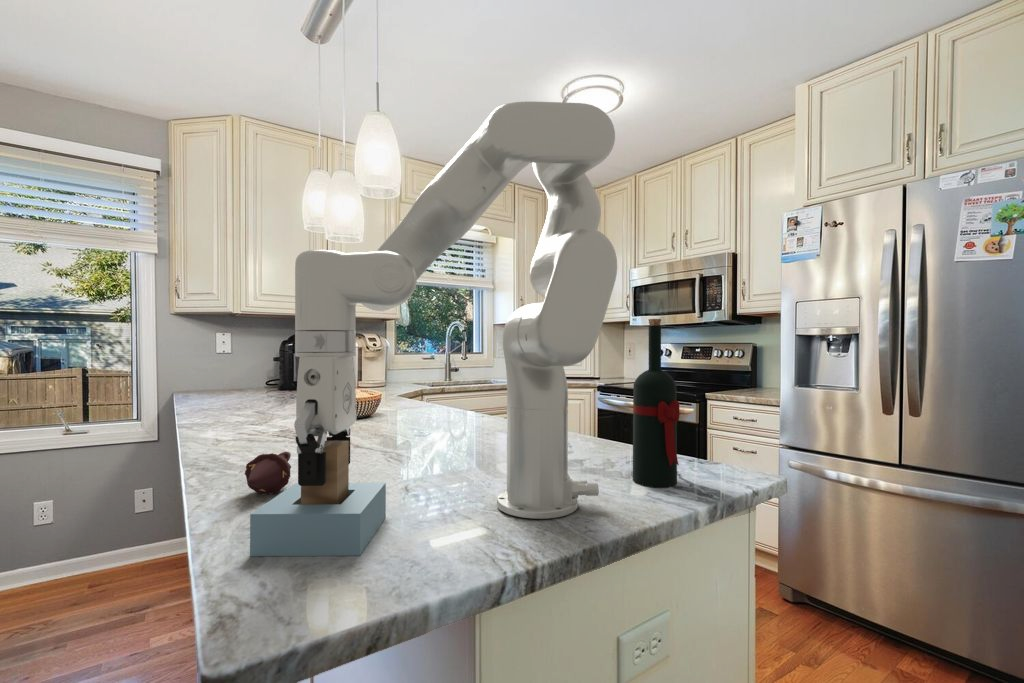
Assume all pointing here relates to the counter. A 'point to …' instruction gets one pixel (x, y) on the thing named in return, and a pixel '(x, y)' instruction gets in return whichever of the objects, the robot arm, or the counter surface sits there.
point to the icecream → (268, 473)
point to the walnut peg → (331, 477)
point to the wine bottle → (655, 420)
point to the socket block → (318, 523)
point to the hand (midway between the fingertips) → (326, 474)
